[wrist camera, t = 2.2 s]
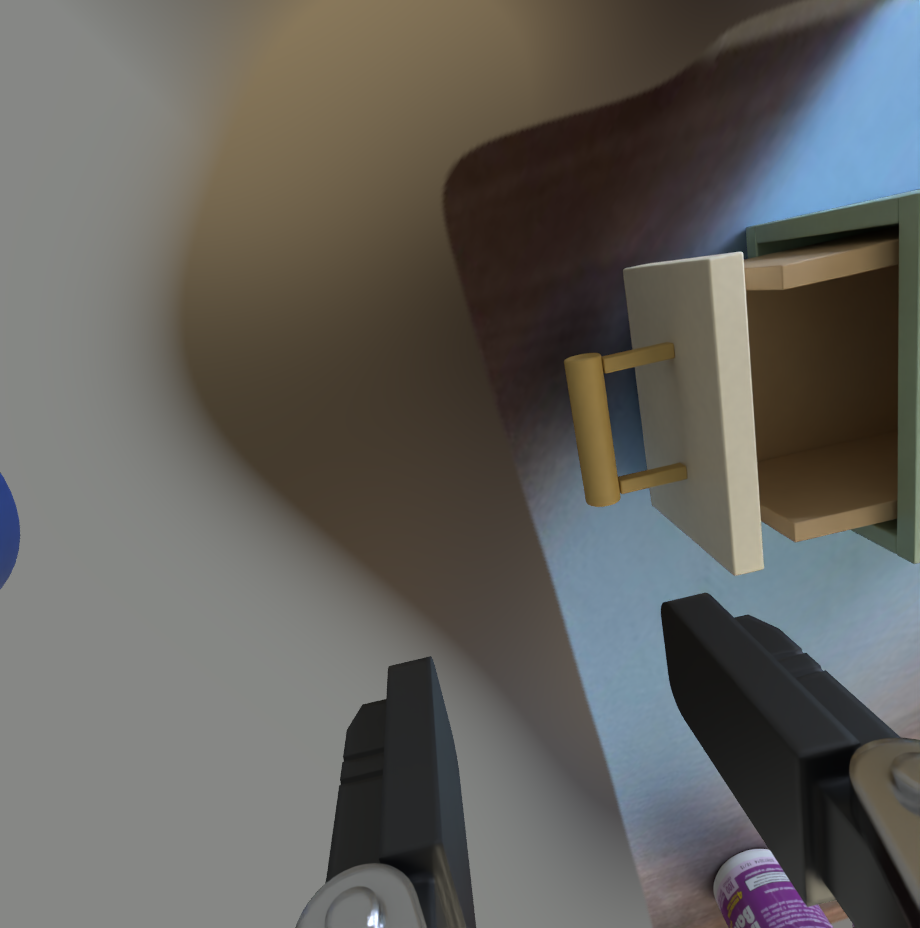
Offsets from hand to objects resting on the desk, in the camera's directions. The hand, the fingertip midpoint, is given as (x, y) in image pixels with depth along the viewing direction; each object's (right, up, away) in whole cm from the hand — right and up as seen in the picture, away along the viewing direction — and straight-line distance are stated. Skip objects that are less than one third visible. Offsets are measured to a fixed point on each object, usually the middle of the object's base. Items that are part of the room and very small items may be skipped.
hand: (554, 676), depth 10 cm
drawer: (+11, +8, +18) cm, 23 cm away
